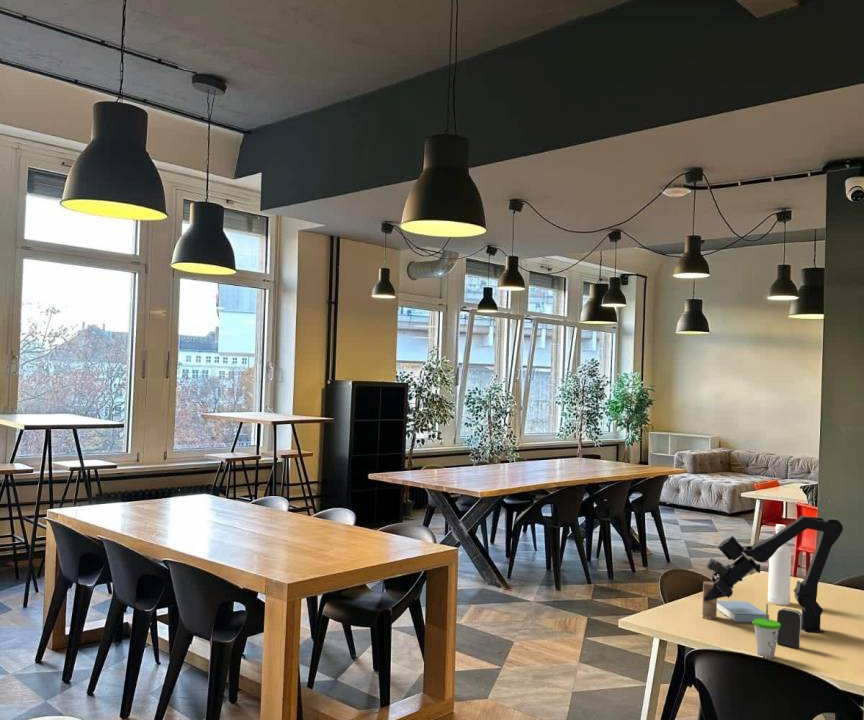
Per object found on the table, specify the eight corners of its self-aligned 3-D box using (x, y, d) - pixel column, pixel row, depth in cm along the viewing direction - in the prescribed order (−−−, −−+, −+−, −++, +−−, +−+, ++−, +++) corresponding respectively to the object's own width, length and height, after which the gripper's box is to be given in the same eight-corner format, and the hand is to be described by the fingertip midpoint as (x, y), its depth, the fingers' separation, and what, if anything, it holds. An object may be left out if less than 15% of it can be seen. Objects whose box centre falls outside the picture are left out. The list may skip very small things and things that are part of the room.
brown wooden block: (715, 616, 277) (716, 582, 278) (716, 619, 273) (717, 585, 273) (702, 614, 278) (703, 581, 279) (702, 618, 274) (703, 583, 275)
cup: (770, 662, 230) (772, 611, 231) (746, 654, 237) (748, 604, 237) (784, 658, 235) (786, 608, 235) (760, 650, 241) (762, 601, 242)
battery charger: (802, 646, 247) (803, 610, 247) (799, 649, 244) (800, 613, 244) (778, 641, 251) (779, 606, 251) (775, 644, 248) (776, 608, 248)
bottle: (768, 604, 298) (771, 525, 299) (766, 599, 305) (768, 522, 306) (791, 606, 295) (793, 527, 297) (788, 601, 303) (790, 524, 304)
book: (768, 623, 271) (769, 614, 271) (735, 622, 271) (735, 613, 271) (746, 609, 288) (746, 601, 288) (715, 608, 287) (715, 600, 288)
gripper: (720, 547, 284) (687, 574, 287) (723, 557, 267) (688, 585, 270) (742, 571, 282) (709, 598, 285) (747, 583, 264) (711, 611, 267)
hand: (704, 597), depth 277 cm, fingers open, 6 cm apart
